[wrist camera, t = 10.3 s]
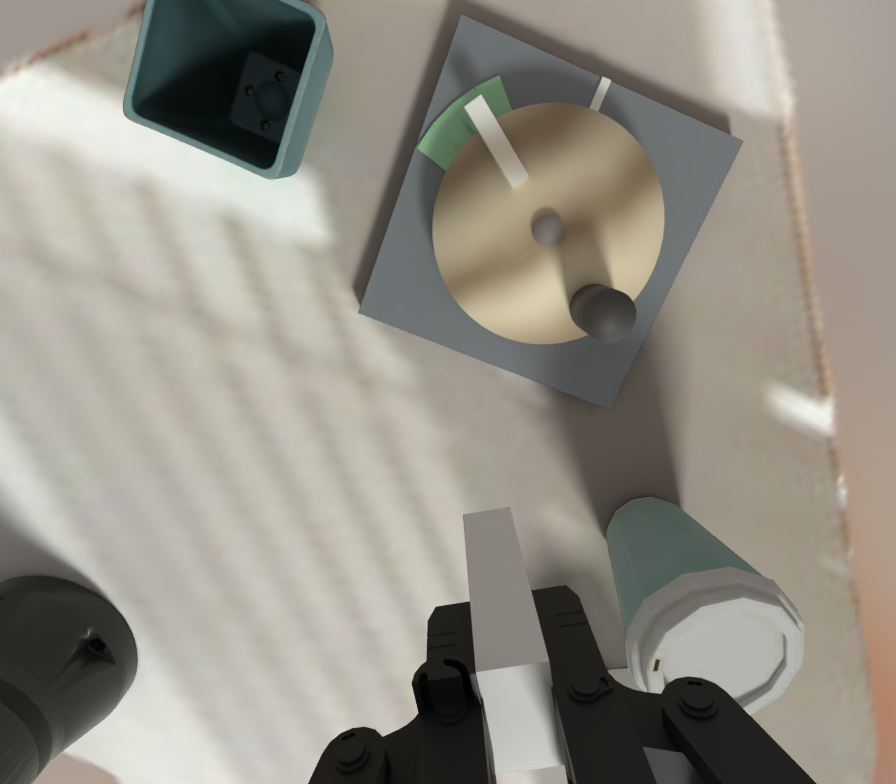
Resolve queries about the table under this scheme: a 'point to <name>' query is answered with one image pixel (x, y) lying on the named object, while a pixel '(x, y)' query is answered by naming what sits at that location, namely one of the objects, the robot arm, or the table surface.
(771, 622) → the disposable coffee cup
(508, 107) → the tuner base
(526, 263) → the dial
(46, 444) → the table surface
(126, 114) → the flower pot
